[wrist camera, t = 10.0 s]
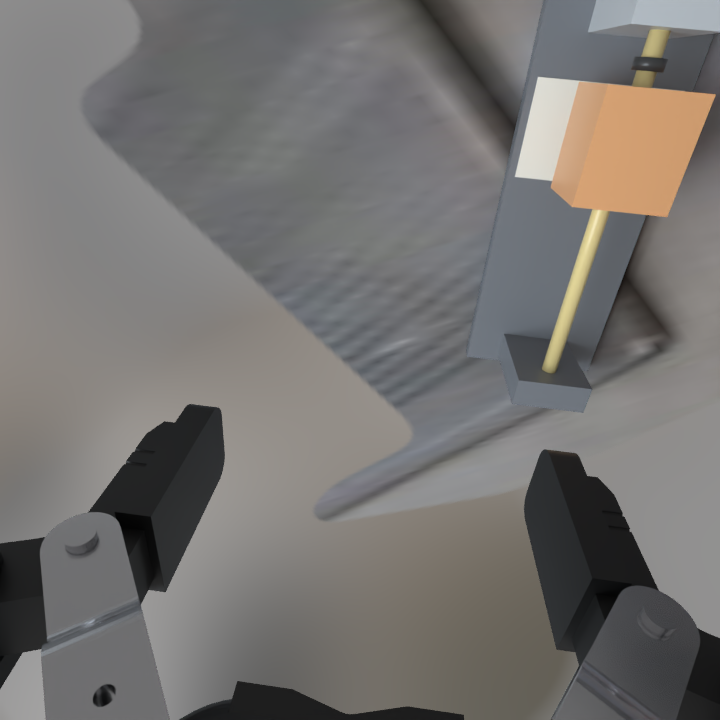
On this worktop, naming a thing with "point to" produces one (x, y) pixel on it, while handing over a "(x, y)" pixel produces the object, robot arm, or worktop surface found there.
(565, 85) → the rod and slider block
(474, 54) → the worktop surface
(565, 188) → the sleeve
